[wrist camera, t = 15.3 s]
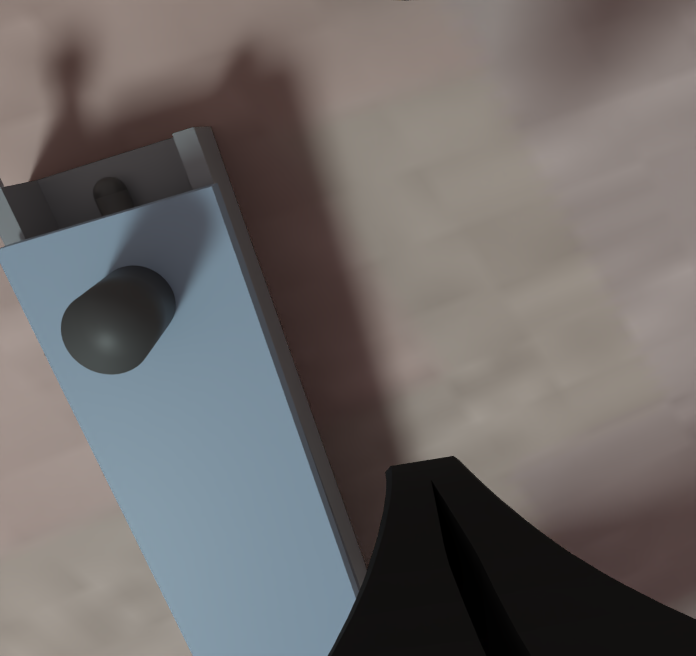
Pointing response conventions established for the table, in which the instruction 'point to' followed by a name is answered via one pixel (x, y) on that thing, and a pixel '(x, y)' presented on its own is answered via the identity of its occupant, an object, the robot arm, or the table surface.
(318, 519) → the cover
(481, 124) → the table surface
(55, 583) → the table surface
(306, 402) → the grey u-channel
